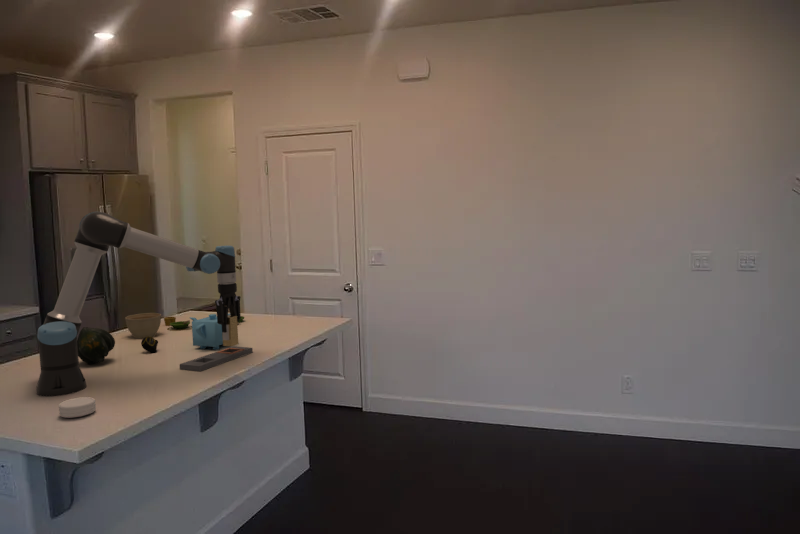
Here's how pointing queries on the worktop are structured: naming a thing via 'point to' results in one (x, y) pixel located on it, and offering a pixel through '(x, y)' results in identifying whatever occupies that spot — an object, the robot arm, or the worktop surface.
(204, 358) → the dark grey flat board
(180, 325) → the tableware set
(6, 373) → the worktop surface
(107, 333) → the squash
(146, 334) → the planter bowl
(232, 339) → the wooden peg
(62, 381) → the robot arm
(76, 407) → the white round disc
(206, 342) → the teakettle
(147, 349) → the tape measure
